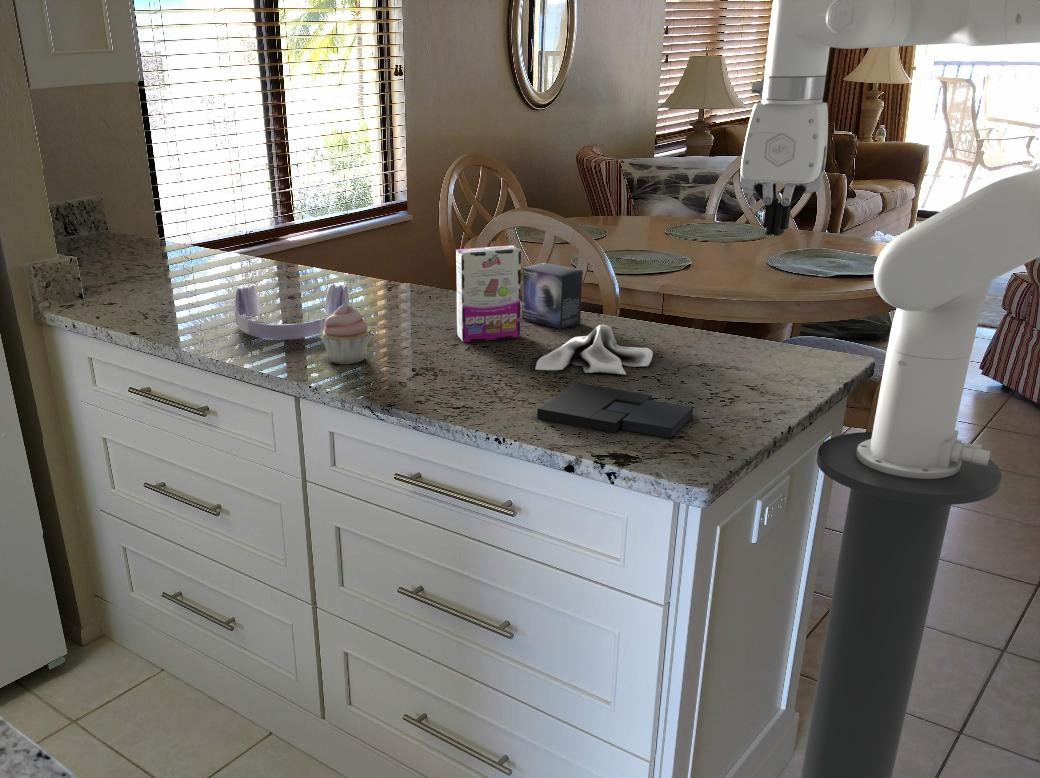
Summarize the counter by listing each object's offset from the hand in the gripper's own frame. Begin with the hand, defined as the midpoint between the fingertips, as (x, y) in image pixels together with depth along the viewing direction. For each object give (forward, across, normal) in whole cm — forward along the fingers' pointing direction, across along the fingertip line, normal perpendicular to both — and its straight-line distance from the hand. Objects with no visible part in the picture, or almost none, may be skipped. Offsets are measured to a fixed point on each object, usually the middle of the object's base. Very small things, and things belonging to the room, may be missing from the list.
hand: (774, 233), depth 137 cm
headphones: (+25, -91, +2) cm, 94 cm away
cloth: (+25, -30, +10) cm, 40 cm away
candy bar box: (+25, -53, +14) cm, 60 cm away
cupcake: (+25, -67, -11) cm, 72 cm away
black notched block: (+25, -19, -14) cm, 34 cm away
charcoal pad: (+25, -11, -14) cm, 31 cm away
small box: (+25, -48, +30) cm, 62 cm away
